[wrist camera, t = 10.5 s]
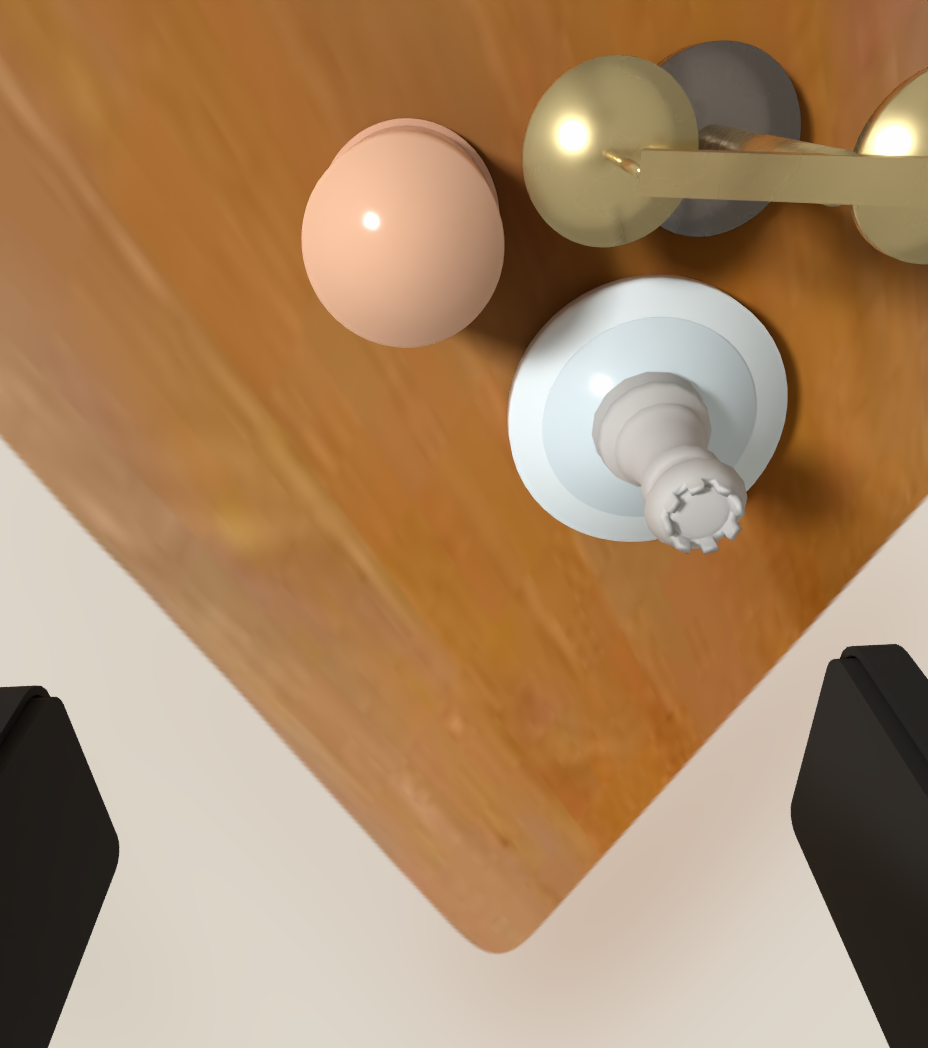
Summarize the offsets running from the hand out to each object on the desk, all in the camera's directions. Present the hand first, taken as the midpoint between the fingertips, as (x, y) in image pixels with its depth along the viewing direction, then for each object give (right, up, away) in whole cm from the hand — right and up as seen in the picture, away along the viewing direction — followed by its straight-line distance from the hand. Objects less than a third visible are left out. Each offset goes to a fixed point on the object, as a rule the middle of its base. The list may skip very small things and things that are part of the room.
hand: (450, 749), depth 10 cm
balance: (+8, +16, +18) cm, 26 cm away
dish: (+7, +7, +23) cm, 25 cm away
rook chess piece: (+7, +7, +22) cm, 24 cm away
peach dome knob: (-2, +14, +19) cm, 24 cm away
